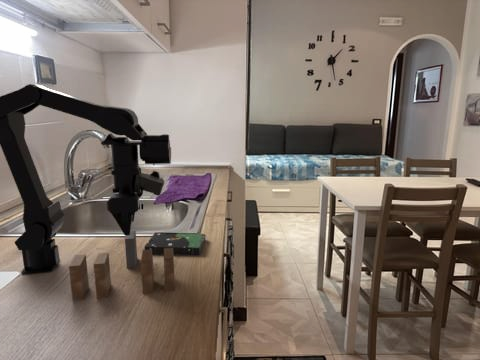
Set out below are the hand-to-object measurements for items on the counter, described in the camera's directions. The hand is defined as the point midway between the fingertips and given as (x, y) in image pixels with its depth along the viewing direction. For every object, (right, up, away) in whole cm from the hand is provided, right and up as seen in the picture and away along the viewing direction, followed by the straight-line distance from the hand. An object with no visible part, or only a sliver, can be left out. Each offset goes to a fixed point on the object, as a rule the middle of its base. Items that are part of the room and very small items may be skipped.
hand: (129, 228), depth 80 cm
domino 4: (+7, -11, -8) cm, 16 cm away
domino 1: (-6, -12, -11) cm, 18 cm away
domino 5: (+11, -11, -8) cm, 18 cm away
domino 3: (0, -9, +2) cm, 9 cm away
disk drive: (+9, -8, +12) cm, 17 cm away
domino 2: (-2, -12, -10) cm, 16 cm away
